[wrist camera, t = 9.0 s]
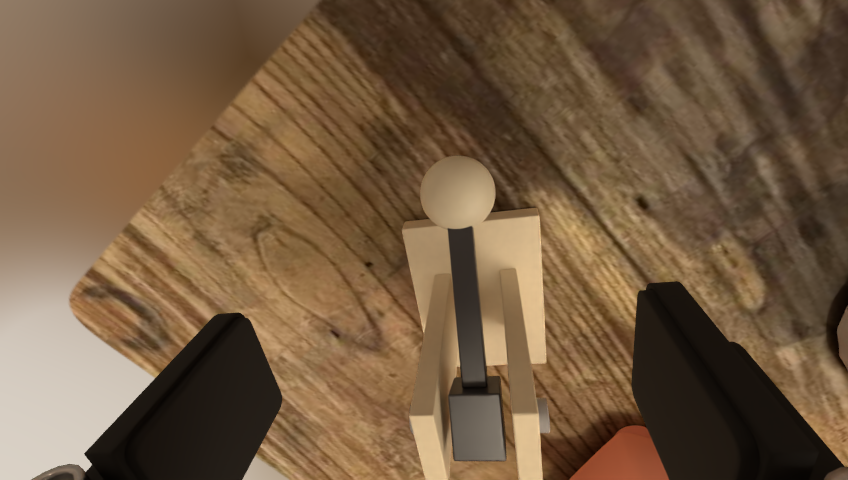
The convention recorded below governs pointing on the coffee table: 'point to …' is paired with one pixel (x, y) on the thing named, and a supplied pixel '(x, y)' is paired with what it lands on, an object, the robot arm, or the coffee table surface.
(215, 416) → the robot arm
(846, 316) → the seashell
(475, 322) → the lever
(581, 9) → the coffee table surface
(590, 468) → the teapot
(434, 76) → the coffee table surface
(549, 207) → the coffee table surface
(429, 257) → the bracket
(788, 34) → the coffee table surface
